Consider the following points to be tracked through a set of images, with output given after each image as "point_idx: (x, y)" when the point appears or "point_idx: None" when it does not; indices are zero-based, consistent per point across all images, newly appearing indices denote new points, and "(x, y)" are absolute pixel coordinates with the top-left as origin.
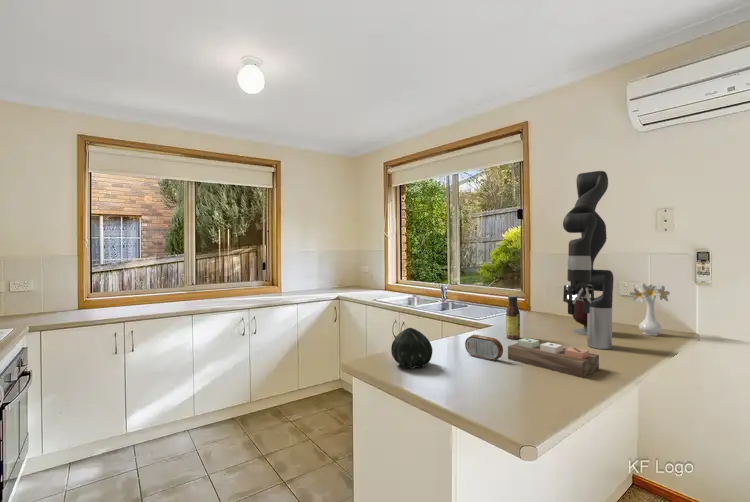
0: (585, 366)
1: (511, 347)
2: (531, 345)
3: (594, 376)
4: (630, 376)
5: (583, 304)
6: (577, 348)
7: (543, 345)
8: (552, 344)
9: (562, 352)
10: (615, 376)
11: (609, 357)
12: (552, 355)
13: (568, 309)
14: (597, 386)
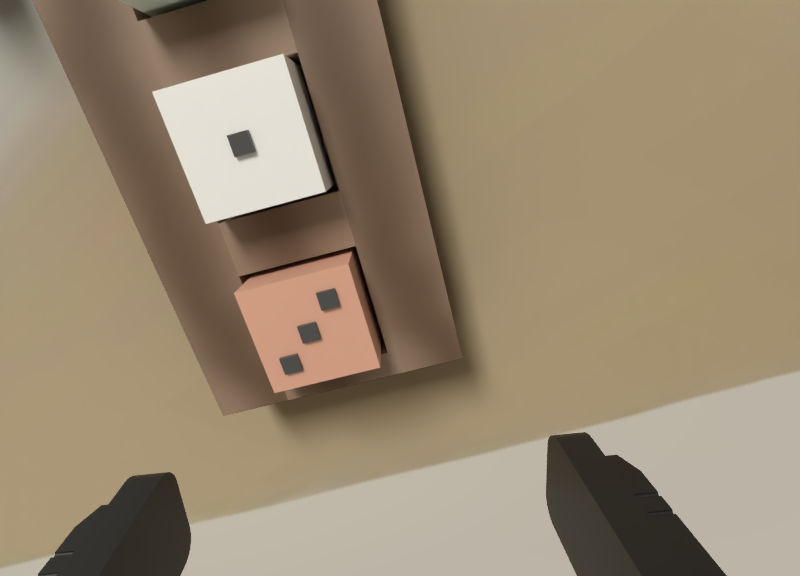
0: None
1: None
2: (127, 3)
3: None
4: (479, 439)
5: (622, 569)
6: (351, 304)
7: (165, 121)
8: (247, 148)
9: (289, 221)
10: (417, 416)
11: (736, 203)
12: (160, 246)
13: (57, 568)
14: (225, 459)
